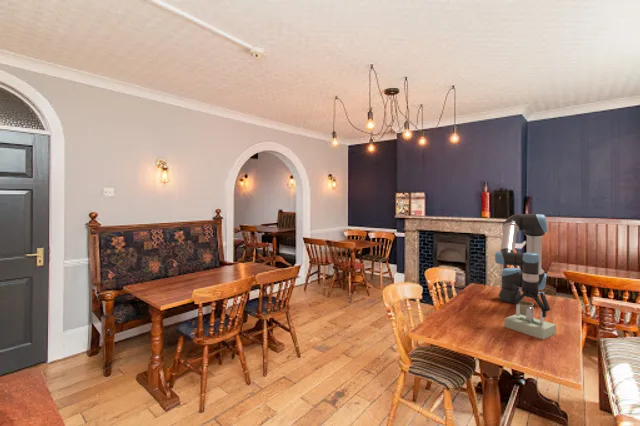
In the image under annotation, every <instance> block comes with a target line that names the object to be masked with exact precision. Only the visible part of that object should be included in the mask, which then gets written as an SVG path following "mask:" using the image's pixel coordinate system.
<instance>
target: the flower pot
mask: <svg viewBox="0 0 640 426" xmlns="http://www.w3.org/2000/svg"><path fill="white" fill-rule="evenodd" d="M518 304H520V314H521V315H525V316H526V306H531V307H534V305H535V304H534V303H533V302H530V301H527V300H526V301H524V300H523V301H520V302H519V303H518Z"/></svg>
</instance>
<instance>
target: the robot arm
mask: <svg viewBox="0 0 640 426" xmlns="http://www.w3.org/2000/svg"><path fill="white" fill-rule="evenodd" d="M548 230H549V229H548V222H547V217H546V215H545V214H541V213H540V214H539V213H516V214H513V215H511V216H509V217H508V218H507V219H506V220H505V221H504V222H503V224H502V233H503V234H502V237H501V244H500V250H499V251H496V252H495V254H494V255H495V256H494V260H495V263H496V264H498V265H499V264H500V265H503V266H505V265H506V266H517V267H506V268H503V269H502V270H501V289H500V292H499V294H498V300H499V301H501V302H503V303H504V302H505V303H509V304H514V310H515V314H516V316H519V315H520V304H518V303H519V302H520V301H524V298H526V297H527V298H530V299H533V300H534V301H535V303H536V304H537V305H538V307H539V309H540V312H539V313H540V315H539V316H540V318H539V320H540V323H544V321H545V318H546V317H547V312H549V311H551V307H550V305H549V303H548V300H547V298H546V292H545V291H540V290H544V289H545V287H546V281H547V276H548V275H547V273H545V270H544V269H543V268H542V264H543V263H542V258H543V257H542V256H543V254H542V253H543V237H544V236H545V235H546V233H548ZM518 232H523V234H524V235H525V236H526V252H521V253H520V252H519V253H518V252H515V250H516V241H517V234H518ZM519 267H522V269H521V268H519ZM521 291H522V292H521Z"/></svg>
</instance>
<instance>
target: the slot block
mask: <svg viewBox="0 0 640 426" xmlns="http://www.w3.org/2000/svg"><path fill="white" fill-rule="evenodd" d="M504 328H507V329H511V330H513V331H516V332H519V333H522V334H525V335H527V336H531V337H534V338H537V339H540V340H546V339H548V338H550V337H552V336H554V335H556V334H557V324H555V323H552V322H548V321H546V320H544V323H540V319H538V318H536V317H534V323H533V324H532V323H528V322H526V316H525V315H521V314H520V315H519V316H516V313H515V314H513V315H510V316H507V317H504Z"/></svg>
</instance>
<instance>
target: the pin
mask: <svg viewBox="0 0 640 426" xmlns="http://www.w3.org/2000/svg"><path fill="white" fill-rule="evenodd" d="M534 318H535V307H534V306H533V307H531V306H526V322H528V323H532V324H533V323H534Z"/></svg>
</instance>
